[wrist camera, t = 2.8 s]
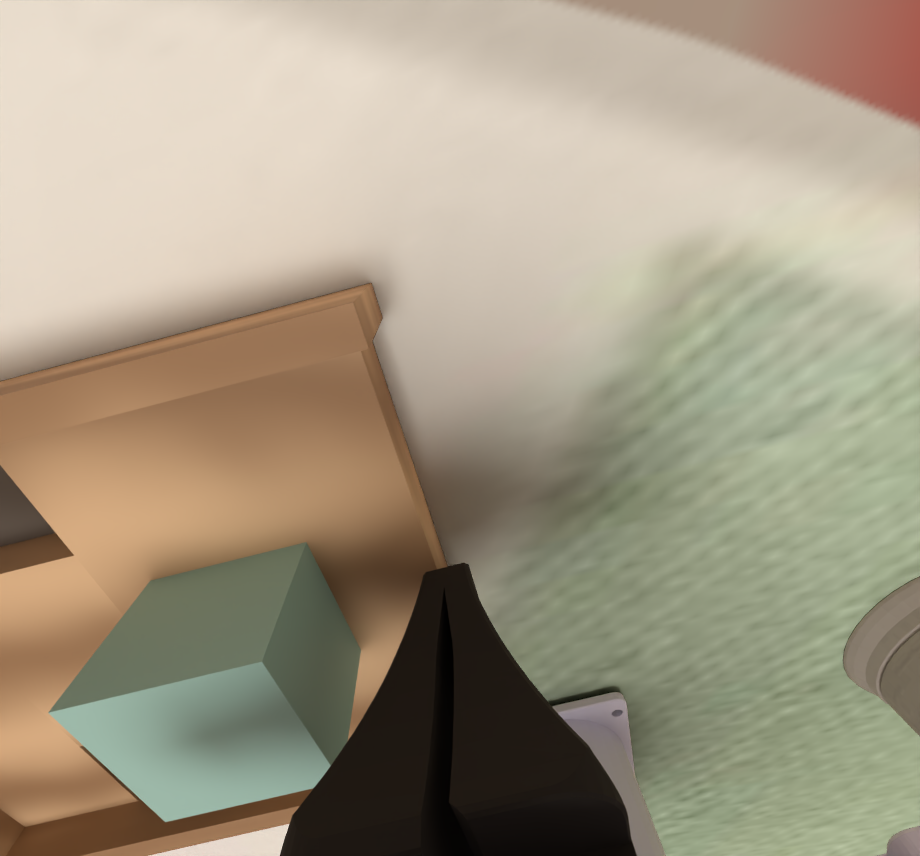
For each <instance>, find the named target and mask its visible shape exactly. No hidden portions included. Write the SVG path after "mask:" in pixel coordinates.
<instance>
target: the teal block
mask: <svg viewBox="0 0 920 856" xmlns="http://www.w3.org/2000/svg"><path fill="white" fill-rule="evenodd" d="M360 654H361V649H360V647H359V645H358V643H357V641H356V639H355V637H354V635H353V633H352V631H351V629H350V627H349V626H348V624H347V622H346V620H345V618H344V616H343V614H342V612H341V610H340V608H339V606H338V604H337V602H336V600H335V598H334V596H333V594H332V592H331V590H330V588H329V586H328V584H327V582H326V580H325V578H324V576H323V574H322V572H321V570H320V568H319V566H318V564H317V562H316V560H315V558H314V556H313V554H312V552H311V550H310V548H309V546H308V544H307V542H305V543H301V544H297V545H292V546H288V547H284V548H280V549H276V550H272V551H268V552H264V553H260V554H256V555H252V556H248V557H244V558H240V559H236V560H232V561H228V562H224V563H220V564H216V565H212V566H208V567H204V568H199V569H195V570H191V571H187V572H183V573H179V574H175V575H171V576H167V577H163V578H159V579H155V580H151V581H150V582H149V583H148V584H147V586H146V587H145V588H144V589H143V591H142V592H141V593H140V595H139V596H138V597H137V598H136V600H135V601H134V602H133V604H132V605H131V606H130V607H129V609H128V610H127V611H126V613H125V614H124V615H123V617H122V618H121V619H120V620H119V622H118V623H117V624H116V626H115V627H114V628H113V629H112V631H111V632H110V633H109V635H108V636H107V637H106V638H105V640H104V641H103V642H102V644H101V645H100V646H99V648H98V649H97V650H96V651H95V653H94V654H93V655H92V657H91V658H90V659H89V660H88V662H87V663H86V664H85V666H84V667H83V668H82V669H81V671H80V672H79V673H78V675H77V676H76V677H75V679H74V680H73V681H72V682H71V684H70V685H69V686H68V688H67V689H66V690H65V691H64V693H63V694H62V695H61V697H60V698H59V699H58V700H57V702H56V703H55V704H54V706H53V707H52V708H51V710H50V711H49V712H48V713H49V714H50V715H51V716H52V717H53V718H54V719H55V720H56V721H57V722H58V723H59V724H60V725H62V726H63V727H64V728H65V729H66V730H67V731H68V732H69V733H70V734H71V735H72V736H73V737H74V738H76V739H77V740H78V741H79V742H80V743H81V744H82V745H83V746H84V747H85V748H86V749H87V750H88V751H89V752H91V753H92V754H93V755H94V756H95V757H96V758H97V759H98V760H99V761H100V762H101V763H102V764H103V765H104V766H106V767H107V768H108V769H109V770H110V771H111V772H112V773H113V774H114V775H115V776H116V777H117V778H118V779H119V780H121V781H122V782H123V783H124V784H125V785H126V786H127V787H128V788H129V789H130V790H131V791H132V792H133V793H135V794H136V795H137V796H138V797H139V798H140V799H141V800H142V801H143V802H144V803H145V804H146V805H147V806H148V807H150V808H151V809H152V810H153V811H154V812H155V813H156V814H157V815H158V816H159V817H160V818H161V819H162V820H163V821H165V822H168V821H173V820H177V819H181V818H186V817H190V816H195V815H199V814H203V813H208V812H212V811H216V810H221V809H225V808H230V807H234V806H238V805H243V804H247V803H251V802H256V801H260V800H265V799H269V798H273V797H278V796H282V795H286V794H291V793H295V792H300V791H304V790H308V789H313V788H314V787H315V786H316V785H317V783H318V782H319V781H320V779H321V778H322V777H323V776H324V774H325V773H326V772H327V770H328V769H329V767H330V766H331V765H332V763H333V762H334V760H335V759H336V757H337V756H338V754H339V753H340V752H341V750H342V749H343V747H344V746H345V744H346V743H347V741H348V735H349V729H350V722H351V715H352V708H353V702H354V695H355V688H356V681H357V674H358V668H359V661H360Z"/></svg>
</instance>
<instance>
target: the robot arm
mask: <svg viewBox="0 0 920 856" xmlns="http://www.w3.org/2000/svg"><path fill="white" fill-rule="evenodd" d="M280 856H666V855H665V852H664V850H663V847H662V844H661V842H660V839H659V837H658V834H657V831H656V829H655V826H654V824H653V821H652V818H651V816H650V813H649V811H648V808H647V806H646V803H645V800H644V798H643V795H642V793H641V790H640V787H639V785H638V782H637V780H636V777H635V771H634V762H633V754H632V745H631V737H630V728H629V720H628V712H627V703H626V701H625V699H624V696H623V694H621V693H619V692H612V693H607V694H603V695H599V696H594V697H590V698H586V699H581V700H577V701H573V702H568V703H564V704H560V705H555V706H551V705H550V704H549V703H548V702H547V700H546V699H545V698H544V697H543V696H542V694H541V693H540V692H539V691H538V689H537V688H536V687H535V686H534V685H533V683H532V682H531V681H530V680H529V678H528V677H527V676H526V674H525V673H524V672H523V670H522V669H521V668H520V666H519V665H518V664H517V662H516V661H515V659H514V658H513V657H512V655H511V654H510V652H509V651H508V649H507V648H506V646H505V645H504V643H503V642H502V640H501V638H500V637H499V635H498V633H497V632H496V630H495V628H494V627H493V625H492V623H491V621H490V620H489V618H488V616H487V614H486V612H485V610H484V608H483V606H482V604H481V602H480V600H479V597H478V594H477V591H476V587H475V584H474V581H473V578H472V574H471V571H470V568H469V565H468V564H466V563H461V564H457V565H453V566H449V567H444V568H440V569H436V570H432V571H428V572H425V574H424V575H423V579H422V583H421V586H420V590H419V593H418V597H417V600H416V603H415V606H414V609H413V612H412V615H411V617H410V620H409V623H408V626H407V628H406V631H405V634H404V636H403V639H402V641H401V643H400V645H399V648H398V650H397V652H396V655H395V657H394V659H393V662H392V664H391V666H390V668H389V670H388V672H387V674H386V676H385V678H384V680H383V682H382V684H381V686H380V688H379V690H378V692H377V694H376V695H375V697H374V699H373V701H372V702H371V704H370V706H369V708H368V709H367V711H366V713H365V714H364V716H363V718H362V720H361V721H360V723H359V724H358V726H357V728H356V729H355V731H354V732H353V734H352V735H351V737H350V738H349V740H348V741H347V743H346V744H345V746H344V747H343V749H342V750H341V752H340V753H339V754H338V756H337V757H336V759H335V760H334V762H333V763H332V765H331V766H330V767H329V769H328V770H327V772H326V773H325V774H324V776H323V777H322V778H321V779H320V781H319V782H318V783H317V785H316V786H315V787H314V788H313V790H312V791H311V792H310V794H309V795H308V796H307V797H306V799H305V800H304V801H303V803H302V804H301V805H300V806H299V808H298V809H297V810H296V811H295V813H294V814H293V815H292V818H291V821H290V824H289V828H288V831H287V834H286V836H285V840H284V843H283V846H282V850H281V854H280ZM877 856H920V826H917V827H912V828H909V829H905V830H902V831H900V832H898V833H896V834H895V835H893V836H892V837H891V838H890V840H889V841H888V844H887V854H882V855H877Z"/></svg>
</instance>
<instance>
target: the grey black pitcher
mask: <svg viewBox="0 0 920 856" xmlns="http://www.w3.org/2000/svg"><path fill="white" fill-rule="evenodd" d="M843 663H844V669H845V671H846V673H847V675H848V677H849V678H850V679H851V680H852V681H853V682H855V683H856V684H857V685H858V686H860V687H861V688H863V689H865V690H867V691H869V692H871V693H873V694H875V695H877V696H878V697H879V698H881V699H882V700H883V701H884V702H885V703H887V704H889V705H890V706H891V707H892V708H893V709H894V710H895V711H896V712H897V713H898V714H899V715H900V716H901V717H902V718H903V719H904V721H905V722H906V723H907V724H908V725H909V726H910V727H911V728H912V729H913V730H914V731H915V732H916V733H917V734H918V735H919V736H920V577H918V578H916V579H914V580H912V581H910V582H908V583H907V584H905V585H904V586H902V587H900V588H899V589H897V590H896V591H894V592H892V593H891V594H890V595H888V596H887V597H886V598H885V599H883V600H882V601H881V602H879V603H878V604H877V605H876V606H875V607H874V608H873V609H872V610H871V611H870V612H869V613H868V614H866V615H865V617H864V618H863V619H862V620H861V621H860V623H859V624H858V625H857V626H856V628H855V629H854V631H853V633H852V634H851V636H850V638H849V639H848V642H847V645H846V647H845V650H844V657H843Z"/></svg>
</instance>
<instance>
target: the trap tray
mask: <svg viewBox="0 0 920 856" xmlns="http://www.w3.org/2000/svg"><path fill="white" fill-rule="evenodd" d="M381 321H382V314H381V311H380V308H379V305H378V302H377V299H376V295H375V292H374V289H373V286H372V283H369V284H365V285H361V286H358V287H354V288H350V289H346V290H343V291H339V292H335V293H331V294H328V295H324V296H320V297H316V298H312V299H309V300H305V301H301V302H297V303H294V304H290V305H286V306H282V307H279V308H275V309H271V310H267V311H263V312H260V313H256V314H252V315H248V316H245V317H241V318H237V319H233V320H230V321H226V322H222V323H218V324H215V325H211V326H207V327H203V328H199V329H196V330H192V331H188V332H184V333H181V334H177V335H173V336H169V337H166V338H162V339H158V340H154V341H151V342H147V343H143V344H139V345H135V346H132V347H128V348H124V349H120V350H117V351H113V352H109V353H105V354H102V355H98V356H94V357H90V358H87V359H83V360H79V361H75V362H71V363H68V364H64V365H60V366H56V367H53V368H49V369H45V370H41V371H38V372H34V373H30V374H26V375H23V376H19V377H15V378H11V379H7V380H4V381H0V856H148V855H153V854H157V853H162V852H166V851H170V850H175V849H179V848H184V847H188V846H192V845H197V844H201V843H206V842H210V841H215V840H219V839H223V838H228V837H232V836H237V835H241V834H245V833H250V832H254V831H259V830H263V829H268V828H272V827H276V826H281V825H285V824H290V821H291V818H292V815H293V814H294V813H295V811H296V810H297V809H298V808H299V806H300V805H301V804H302V803H303V801H304V800H305V799H306V797H307V796H308V795H309V794H310V792H311V791H312V790H313V789H308V790H304V791H300V792H295V793H291V794H286V795H282V796H278V797H273V798H269V799H265V800H260V801H256V802H251V803H247V804H243V805H238V806H234V807H230V808H225V809H221V810H216V811H212V812H208V813H203V814H199V815H195V816H190V817H186V818H181V819H177V820H173V821H168V822H165V821H163V820H162V819H161V818H160V817H159V816H158V815H157V814H156V813H155V812H154V811H153V810H152V809H151V808H150V807H148V806H147V805H146V804H145V803H144V802H143V801H142V800H141V799H140V798H139V797H138V796H137V795H136V794H135V793H133V792H132V791H131V790H130V789H129V788H128V787H127V786H126V785H125V784H124V783H123V782H122V781H121V780H119V779H118V778H117V777H116V776H115V775H114V774H113V773H112V772H111V771H110V770H109V769H108V768H107V767H106V766H104V765H103V764H102V763H101V762H100V761H99V760H98V759H97V758H96V757H95V756H94V755H93V754H92V753H91V752H89V751H88V750H87V749H86V748H85V747H84V746H83V745H82V744H81V743H80V742H79V741H78V740H77V739H76V738H74V737H73V736H72V735H71V734H70V733H69V732H68V731H67V730H66V729H65V728H64V727H63V726H62V725H60V724H59V723H58V722H57V721H56V720H55V719H54V718H53V717H52V716H51V715H50V714H49V713H48V712H49V711H50V710H51V708H52V707H53V706H54V704H55V703H56V702H57V700H58V699H59V698H60V697H61V695H62V694H63V693H64V691H65V690H66V689H67V688H68V686H69V685H70V684H71V682H72V681H73V680H74V679H75V677H76V676H77V675H78V673H79V672H80V671H81V669H82V668H83V667H84V666H85V664H86V663H87V662H88V660H89V659H90V658H91V657H92V655H93V654H94V653H95V651H96V650H97V649H98V648H99V646H100V645H101V644H102V642H103V641H104V640H105V638H106V637H107V636H108V635H109V633H110V632H111V631H112V629H113V628H114V627H115V626H116V624H117V623H118V622H119V620H120V619H121V618H122V617H123V615H124V614H125V613H126V611H127V610H128V609H129V607H130V606H131V605H132V604H133V602H134V601H135V600H136V598H137V597H138V596H139V595H140V593H141V592H142V591H143V589H144V588H145V587H146V586H147V584H148V583H149V582H150V581H151V580H155V579H159V578H163V577H167V576H171V575H175V574H179V573H183V572H187V571H191V570H195V569H199V568H204V567H208V566H212V565H216V564H220V563H224V562H228V561H232V560H236V559H240V558H244V557H248V556H252V555H256V554H260V553H264V552H268V551H272V550H276V549H280V548H284V547H288V546H292V545H297V544H301V543H305V542H307V544H308V546H309V548H310V550H311V552H312V554H313V556H314V558H315V560H316V562H317V564H318V566H319V568H320V570H321V572H322V574H323V576H324V578H325V580H326V582H327V584H328V586H329V588H330V590H331V592H332V594H333V596H334V598H335V600H336V602H337V604H338V606H339V608H340V610H341V612H342V614H343V616H344V618H345V620H346V622H347V624H348V626H349V627H350V629H351V631H352V633H353V635H354V637H355V639H356V641H357V643H358V645H359V647H360V649H361V654H360V661H359V668H358V674H357V681H356V688H355V695H354V702H353V708H352V715H351V722H350V729H349V735H348V740H349V738H350V737H351V735H352V734H353V732H354V731H355V729H356V728H357V726H358V724H359V723H360V721H361V720H362V718H363V716H364V714H365V713H366V711H367V709H368V708H369V706H370V704H371V702H372V701H373V699H374V697H375V695H376V694H377V692H378V690H379V688H380V686H381V684H382V682H383V680H384V678H385V676H386V674H387V672H388V670H389V668H390V666H391V664H392V662H393V659H394V657H395V655H396V652H397V650H398V648H399V645H400V643H401V641H402V639H403V636H404V634H405V631H406V628H407V626H408V623H409V620H410V617H411V615H412V612H413V609H414V606H415V603H416V600H417V597H418V593H419V590H420V586H421V583H422V579H423V575H424V574H425V572H428V571H432V570H436V569H440V568H444V567H448V566H447V563H446V560H445V557H444V554H443V551H442V548H441V545H440V542H439V539H438V536H437V533H436V530H435V527H434V524H433V521H432V518H431V515H430V512H429V509H428V506H427V503H426V500H425V497H424V494H423V491H422V488H421V486H420V483H419V480H418V477H417V474H416V471H415V468H414V465H413V462H412V459H411V456H410V453H409V450H408V447H407V444H406V441H405V438H404V435H403V432H402V429H401V426H400V423H399V420H398V417H397V414H396V411H395V408H394V405H393V402H392V399H391V396H390V393H389V390H388V387H387V384H386V381H385V378H384V375H383V372H382V369H381V366H380V363H379V360H378V357H377V354H376V351H375V348H374V345H373V342H372V341H373V338H374V336H375V334H376V332H377V330H378V327H379V325H380V323H381Z"/></svg>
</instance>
